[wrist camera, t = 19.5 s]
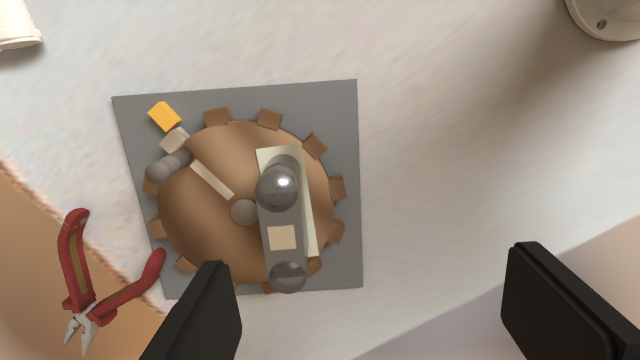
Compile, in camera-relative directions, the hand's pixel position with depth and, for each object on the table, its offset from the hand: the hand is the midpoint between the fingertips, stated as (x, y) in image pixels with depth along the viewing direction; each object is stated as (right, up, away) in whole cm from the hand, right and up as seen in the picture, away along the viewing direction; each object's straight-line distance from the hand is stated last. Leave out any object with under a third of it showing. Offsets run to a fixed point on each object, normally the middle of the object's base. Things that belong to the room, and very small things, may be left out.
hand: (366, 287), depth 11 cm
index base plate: (-9, +1, +25) cm, 26 cm away
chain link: (-5, +1, +22) cm, 22 cm away
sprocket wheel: (-9, +1, +25) cm, 26 cm away
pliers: (-29, -8, +28) cm, 41 cm away
